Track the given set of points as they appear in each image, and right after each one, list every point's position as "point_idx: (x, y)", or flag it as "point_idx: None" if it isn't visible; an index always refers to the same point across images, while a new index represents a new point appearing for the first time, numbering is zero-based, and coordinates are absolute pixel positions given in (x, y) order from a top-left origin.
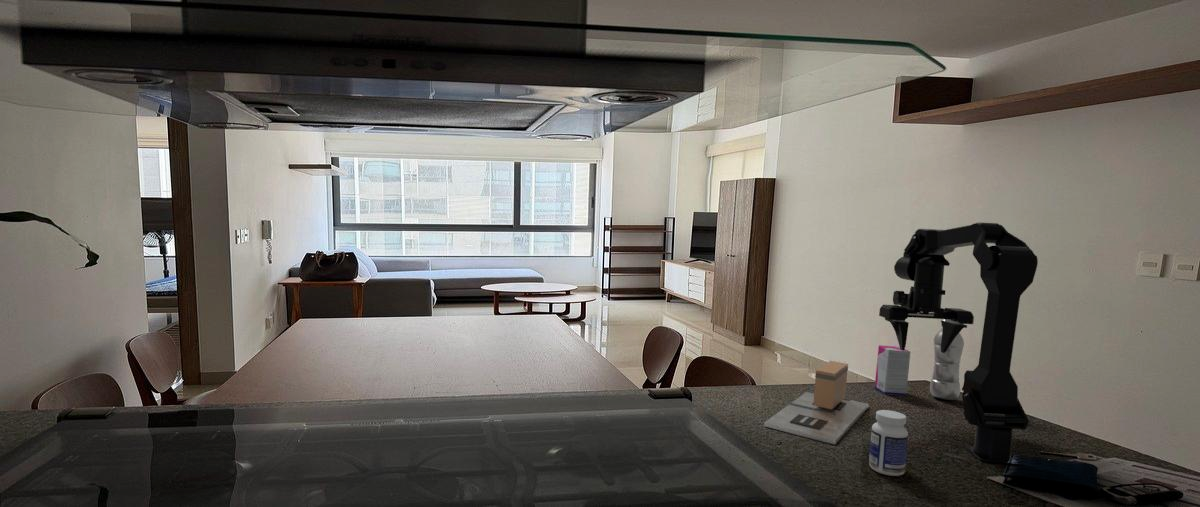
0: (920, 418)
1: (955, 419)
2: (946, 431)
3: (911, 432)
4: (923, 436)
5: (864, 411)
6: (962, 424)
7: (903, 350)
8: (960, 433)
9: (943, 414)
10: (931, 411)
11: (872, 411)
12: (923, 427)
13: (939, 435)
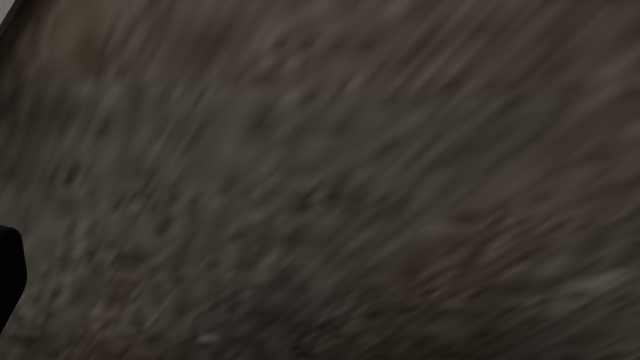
0: (313, 133)
1: (533, 159)
2: (323, 286)
3: (146, 279)
4: (175, 315)
5: (14, 15)
6: (499, 225)
7: (15, 282)
8: (375, 309)
9: (537, 76)
10: (500, 16)
11: (69, 8)
12: (240, 240)
13: (254, 315)
